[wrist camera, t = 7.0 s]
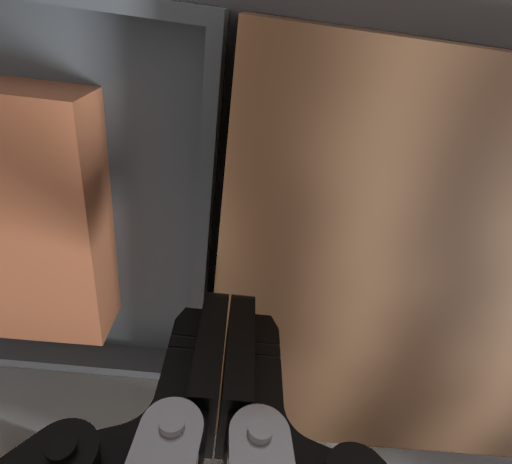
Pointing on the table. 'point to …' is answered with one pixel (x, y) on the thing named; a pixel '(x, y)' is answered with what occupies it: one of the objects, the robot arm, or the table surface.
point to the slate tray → (135, 156)
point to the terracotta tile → (55, 214)
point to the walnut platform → (375, 229)
